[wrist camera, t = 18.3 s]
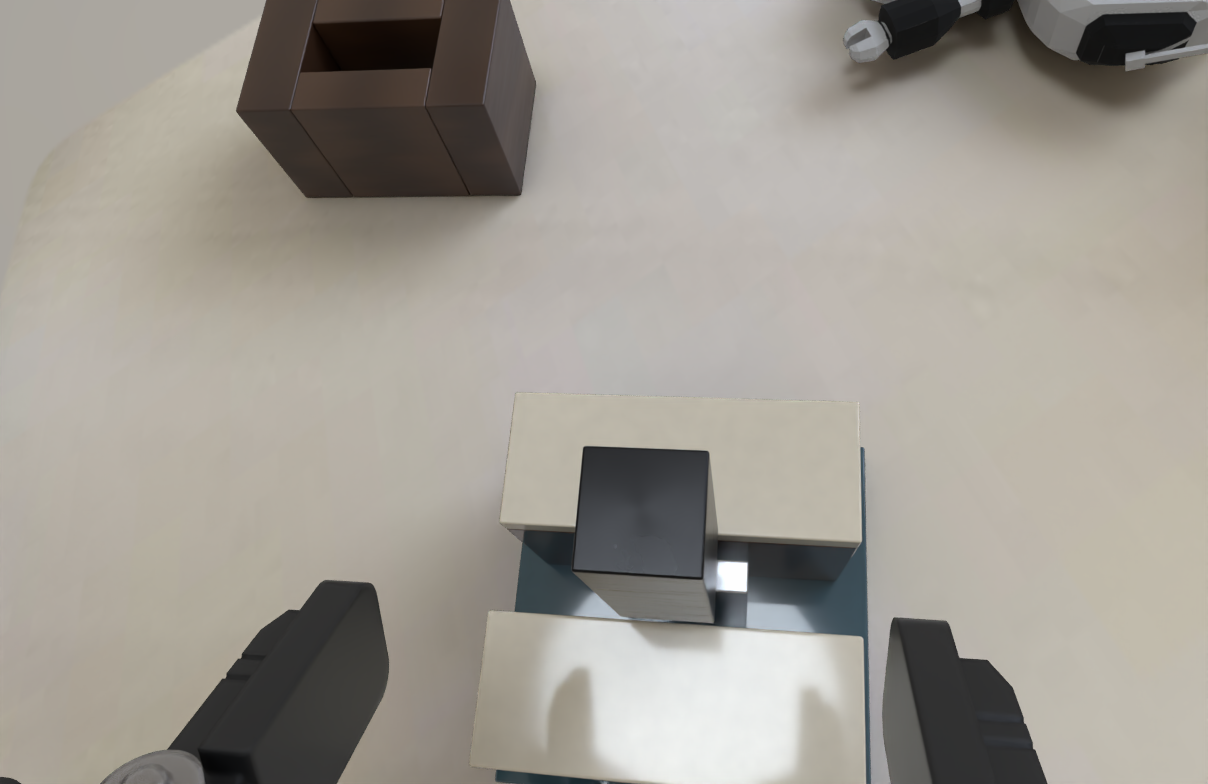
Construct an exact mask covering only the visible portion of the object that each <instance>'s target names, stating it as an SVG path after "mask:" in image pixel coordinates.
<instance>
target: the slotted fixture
mask: <svg viewBox="0 0 1208 784" xmlns="http://www.w3.org/2000/svg"><path fill="white" fill-rule="evenodd" d="M584 446H604V447H629V448H655V449H680V450H706V451H709V454H710V463H711V472H712V480H713V489H714V498H715V507H716V515H717V524H718V548H717V560H728V561H745V562H748V563H749V570H748V599H747V618H746V626H745V627H742V626H728V625H714V624H700V623H686V622H672V621H658V620H644V619H630V618H628V617H621V616H620V615H619V614H617V613H616V612H615V611H614V610H613V609H612V608H611V607H610V606H609V605H608V604H607V603H606V602H604V601H603V600H602V599H601V598H600V597H599V596H598V595H597V594H596V593H595V592H594V591H593V590H592V589H590V588H589V587H588V586H587V585H586V584H585V583H584V582H583V581H582V580H581V579H580V578H579V577H578V576H576V575H575V574H574V573H573V572H572V570H571V566H572V556H573V545H574V535H575V525H576V514H577V504H578V494H579V483H580V473H581V463H582V452H583V447H584ZM499 523H500V524H501V525H502V526H504V527H505V528H506V529H507V530H508V531H509V532H511V533H512V534H513V535H514V536H515V537H517V538H518V539H519V540H520V541H521V542H522V551H521V559H520V568H519V577H518V585H517V594H516V603H515V611H514V612H512V611H498V610H490V611H489V612H488V615H487V623H486V631H485V639H484V647H483V655H482V663H481V671H480V679H479V687H478V695H477V703H476V710H475V718H474V726H473V734H472V742H471V750H470V758H469V765H470V766H471V767H474V768H484V769H494V770H496V775H495V781H496V782H501V783H511V784H871V760H870V708H869V657H868V605H867V554H866V502H865V451H864V448H863V447H860V404H859V402H843V401H808V400H773V399H737V398H702V397H667V396H632V395H596V394H561V393H526V392H516V393H515V399H514V407H513V414H512V422H511V430H510V438H509V446H508V454H507V462H506V470H505V478H504V486H503V494H502V502H501V510H500V518H499Z"/></svg>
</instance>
